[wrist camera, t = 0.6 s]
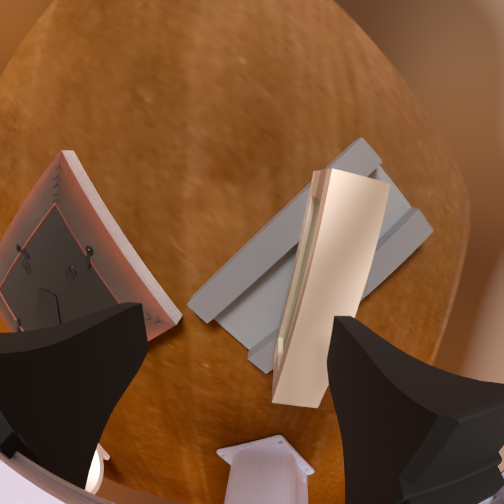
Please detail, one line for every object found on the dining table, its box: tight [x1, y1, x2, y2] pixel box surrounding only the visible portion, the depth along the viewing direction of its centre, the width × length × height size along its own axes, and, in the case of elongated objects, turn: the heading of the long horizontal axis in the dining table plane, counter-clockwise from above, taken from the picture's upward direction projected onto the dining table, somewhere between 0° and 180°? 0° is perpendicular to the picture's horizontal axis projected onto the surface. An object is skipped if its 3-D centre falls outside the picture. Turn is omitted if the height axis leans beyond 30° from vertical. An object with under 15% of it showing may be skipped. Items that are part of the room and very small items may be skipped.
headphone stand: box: [85, 443, 110, 494], centre depth 24 cm, size 5×6×12 cm
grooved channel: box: [187, 137, 433, 374], centre depth 19 cm, size 8×16×2 cm, turn 135°
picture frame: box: [0, 150, 183, 341], centre depth 22 cm, size 16×2×22 cm
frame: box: [272, 168, 390, 408], centre depth 15 cm, size 3×12×6 cm, turn 170°
